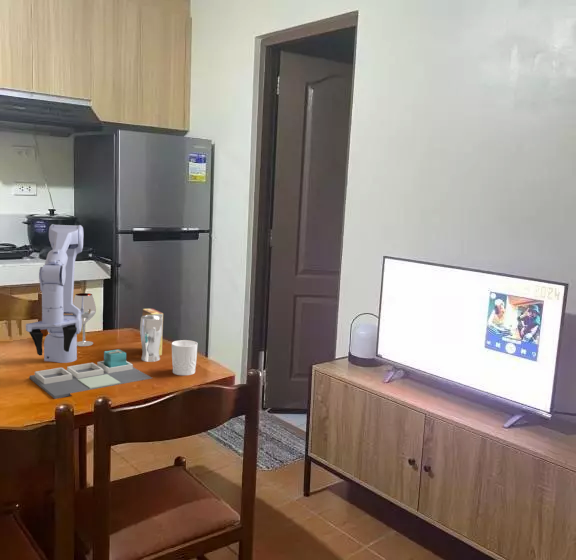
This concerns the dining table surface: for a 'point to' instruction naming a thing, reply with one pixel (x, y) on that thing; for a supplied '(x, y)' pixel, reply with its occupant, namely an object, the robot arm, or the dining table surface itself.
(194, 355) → the white cup
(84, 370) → the organizer board
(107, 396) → the dining table surface
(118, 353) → the teal letter cube
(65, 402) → the dining table surface
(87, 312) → the wineglass
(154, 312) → the candy box
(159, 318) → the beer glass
